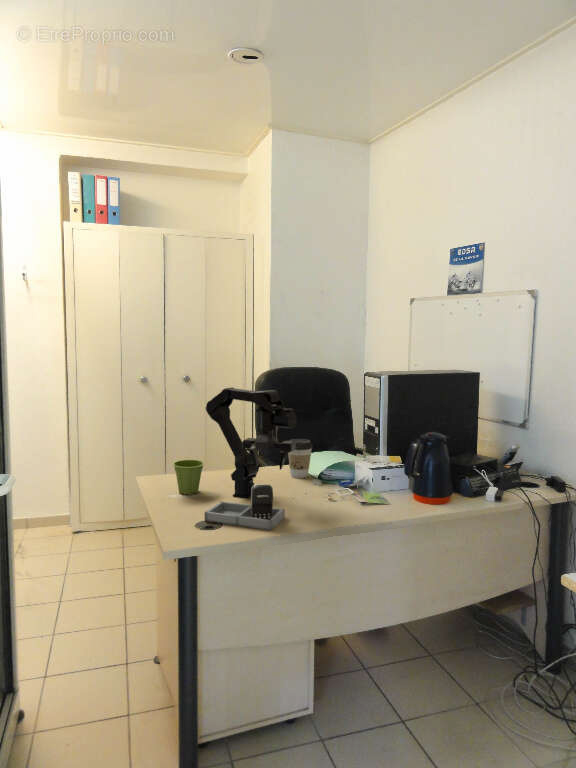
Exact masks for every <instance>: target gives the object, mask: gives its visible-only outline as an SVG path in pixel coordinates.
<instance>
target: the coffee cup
mask: <svg viewBox="0 0 576 768" xmlns="http://www.w3.org/2000/svg"><path fill="white" fill-rule="evenodd" d="M288 441H294V442H295V444H296V449H295V450H293V451H292V452H290V453H288V455H287V457H288V462H289V471H290V473H289V474H290V477H292V478H295V479H303V478H304V477H305V478H307V477H308V475H309V471H310V464H311V456H312V449H313V448H314V447H313V444H312V443H311V440H309V439H305V438H294V439H293V438H291V439H289V440H288ZM305 478H304V479H305Z"/></svg>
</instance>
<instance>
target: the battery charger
mask: <svg viewBox="0 0 576 768" xmlns="http://www.w3.org/2000/svg"><path fill="white" fill-rule="evenodd" d="M250 498H251V499H250V500H251V504H250V505H252V518H259V519H267V520H270V519H271V518H272V508H273V503H274V490H273V486H272V485H271V484H267V483H264V484H262V483H261V484H254V486H253V487H252V490H251V497H250Z"/></svg>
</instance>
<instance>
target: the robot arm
mask: <svg viewBox="0 0 576 768" xmlns="http://www.w3.org/2000/svg"><path fill="white" fill-rule="evenodd" d="M234 400H236V401H243V402H250V403H254V404H255V405H256V406H259V407H258V408H257V409H256V410H255V413H260V428H259V431H258V435H257V436H256V437H247V438H245V439H244V440H242V439H241V437H240V436H239V433H238V431H237V429H236V427H235V425H234V423H233V421H232V419H231V409H230V406H231V405H232V404H233V402H234ZM205 411H206V413H207V414H208V416H209V418H210V419H211V420H213V421H214V422H215V423H217V425H218V426H219V429H220V430H221V432H222V434H223V436H224V438H225V440H226V442H227V444H228V446H229V448H230V450H231V451H232V455H233V456H234V467H235V470H233V472H232V473H231V474H230V478H231V481H233V482H234V493H233V494H232V496H233V497H237V498H245V499H249V498H251V490H252V487H253V486H254V485H255V482H254V479H255V478H256V477H257V475H258V474H259V473H258V472H259V471H260V461H259V456H260V455H259V450H260V451H261V450H263V451H268V450H269V449H270V448H271V449H272V448H273V449H279V450H280V451H279V452H278V453H279V470H282V469H283V466H284V465H285V462H286V459H287V457H288V453H290V452H292V451H293V450H295V449H296V444H295V442H294V441H289V440H284V441H282V442H279V438H277V437H278V435H277V433H278V431H279V428H284V429H285V428H286V429H294V428H295V427H296V425H297V424H298V423H297V422H298V418H297V415H296V412H294V408H287V407H286V406H285V404H284V403H283V400H282V398H281V397H280V394H279V392H278V391H277V390H275V389H269V390H259V391H257V390H251V389H250V390H249V389H244V388H243V389H241V388H236V387H226V388H224V389H222V390H221V391H220V392H219V393H218V394H217V395H214V397H212V399H211V400H209V401H207V403H206V406H205Z"/></svg>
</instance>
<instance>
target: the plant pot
mask: <svg viewBox="0 0 576 768" xmlns="http://www.w3.org/2000/svg"><path fill="white" fill-rule="evenodd" d="M172 466H173V467H174V471H175V475H176V481H177V487H178V493H179V492H180V493H179V494H183V495H185V494H188V495H194V494H193V493H196V492H197V493H198V492H199V490H200V484H201V483H200V482H201V477H202V471H203V469H204V466H205V462H204V461H202V460H200V459H199V460H198V459H181V460H176V461H174V462H173V463H172ZM197 493H196V494H197Z"/></svg>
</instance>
